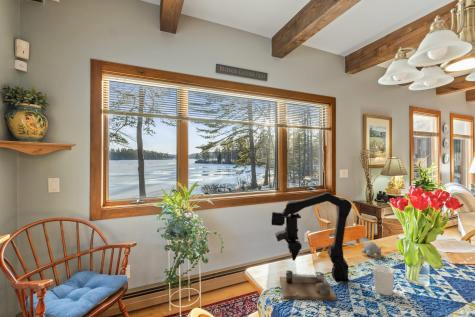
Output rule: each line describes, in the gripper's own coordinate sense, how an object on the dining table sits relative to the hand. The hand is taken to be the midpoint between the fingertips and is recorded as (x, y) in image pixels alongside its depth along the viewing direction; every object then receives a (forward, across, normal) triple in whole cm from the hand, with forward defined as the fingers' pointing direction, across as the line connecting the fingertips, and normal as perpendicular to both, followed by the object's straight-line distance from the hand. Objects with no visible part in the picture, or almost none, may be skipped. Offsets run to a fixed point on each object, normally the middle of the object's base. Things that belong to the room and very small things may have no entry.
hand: (292, 256), depth 119 cm
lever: (+8, +10, +4) cm, 13 cm away
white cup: (+10, +13, +38) cm, 41 cm away
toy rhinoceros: (+10, -26, +53) cm, 60 cm away
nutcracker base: (+9, +13, +4) cm, 17 cm away
